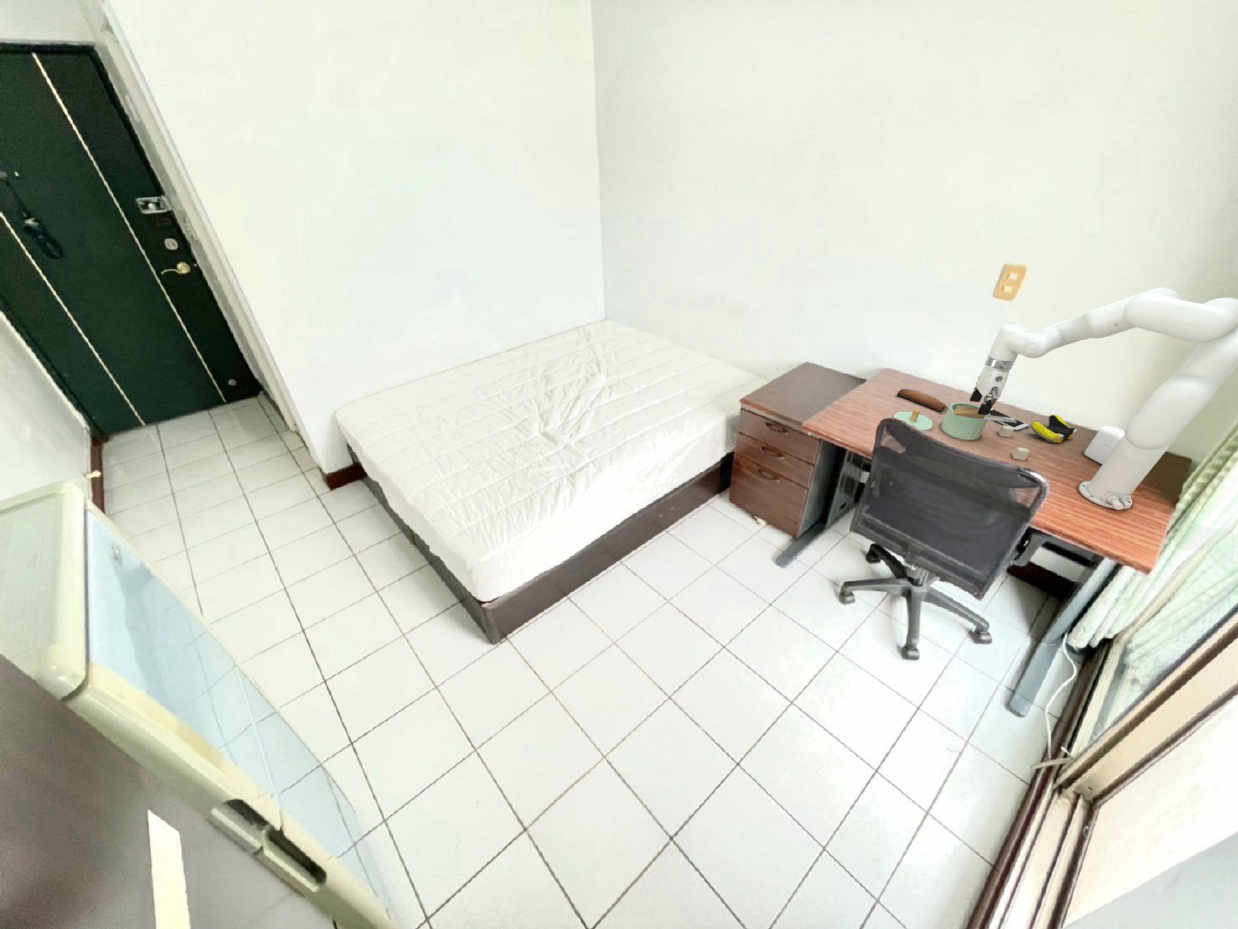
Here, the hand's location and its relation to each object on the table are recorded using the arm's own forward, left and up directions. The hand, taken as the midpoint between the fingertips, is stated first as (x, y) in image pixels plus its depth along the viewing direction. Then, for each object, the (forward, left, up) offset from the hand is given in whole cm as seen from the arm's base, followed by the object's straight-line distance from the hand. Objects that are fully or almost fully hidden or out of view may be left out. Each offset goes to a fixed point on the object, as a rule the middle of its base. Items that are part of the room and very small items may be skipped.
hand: (978, 407), depth 171 cm
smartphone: (+18, -18, -13) cm, 28 cm away
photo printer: (-4, -41, -13) cm, 43 cm away
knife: (0, -2, -4) cm, 4 cm away
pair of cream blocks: (-2, -15, -13) cm, 19 cm away
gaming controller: (+10, -31, -13) cm, 35 cm away
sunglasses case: (+25, +9, -13) cm, 30 cm away
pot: (+4, 0, -13) cm, 13 cm away
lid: (+6, +16, -12) cm, 21 cm away
